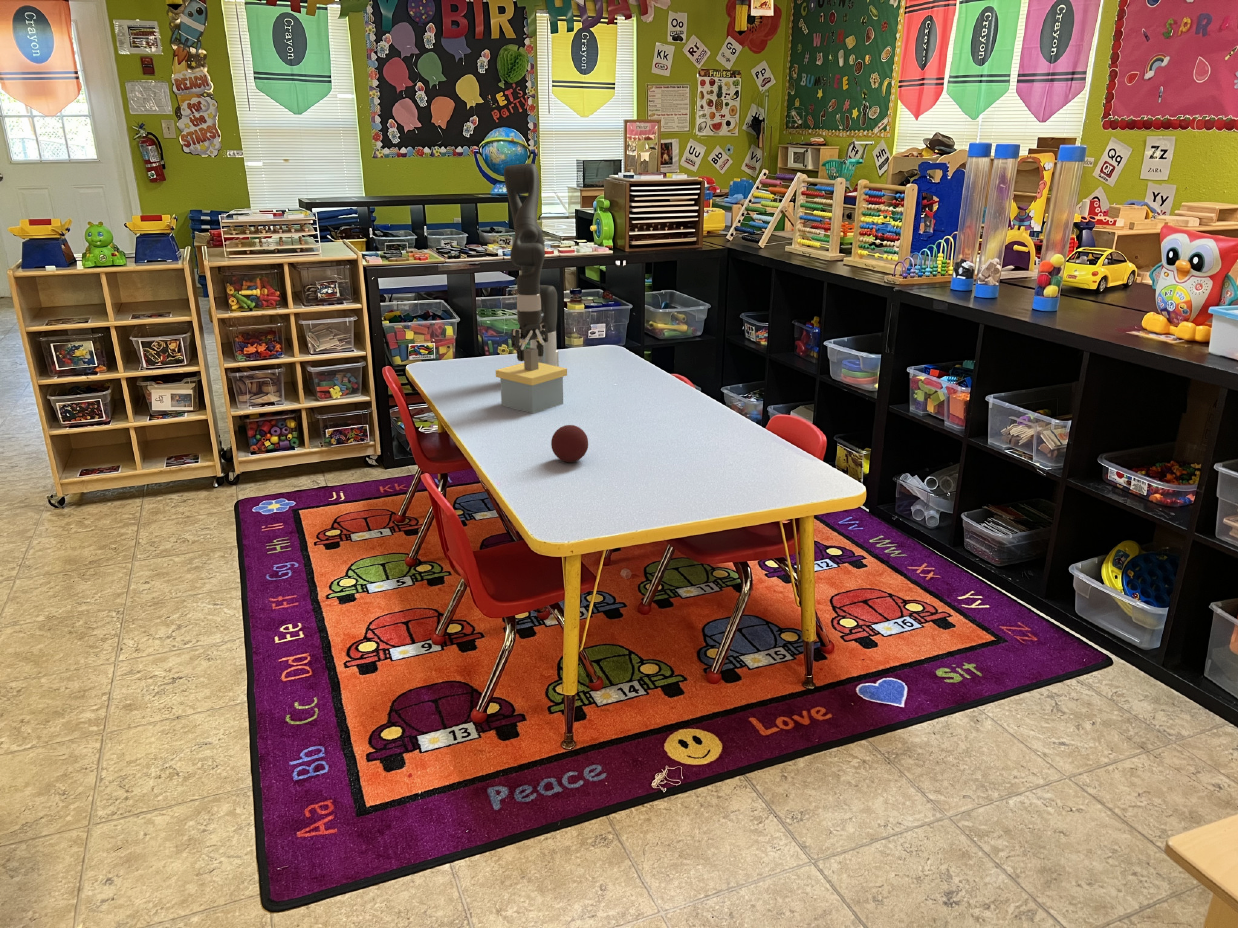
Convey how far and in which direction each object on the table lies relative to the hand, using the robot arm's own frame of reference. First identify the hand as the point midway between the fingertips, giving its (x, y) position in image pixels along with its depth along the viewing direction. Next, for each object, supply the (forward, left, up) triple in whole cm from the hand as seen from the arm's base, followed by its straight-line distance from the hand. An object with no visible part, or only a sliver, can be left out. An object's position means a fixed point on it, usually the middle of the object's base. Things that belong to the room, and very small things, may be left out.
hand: (530, 358), depth 288 cm
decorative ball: (+32, +46, -16) cm, 58 cm away
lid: (0, 0, -6) cm, 6 cm away
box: (0, 0, -15) cm, 15 cm away
